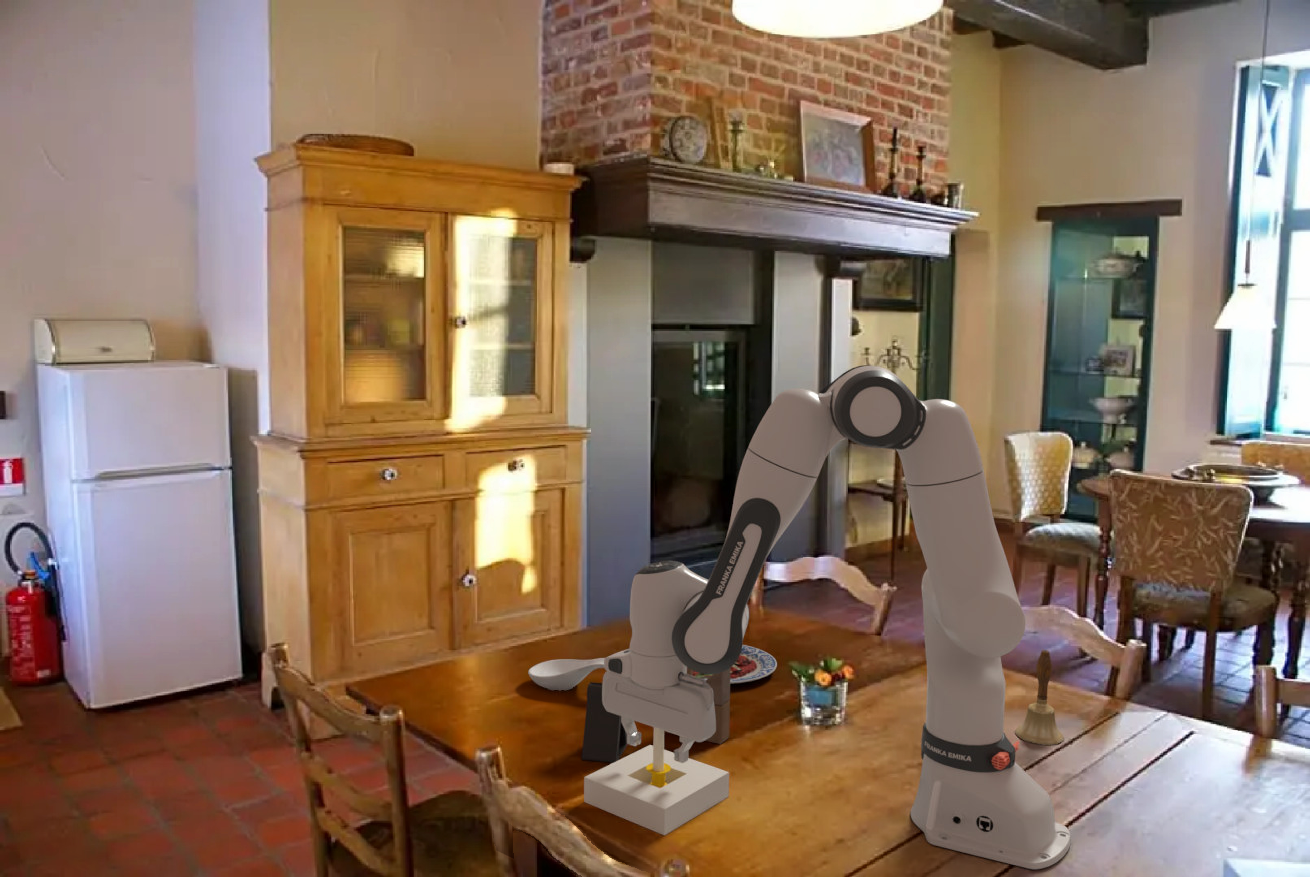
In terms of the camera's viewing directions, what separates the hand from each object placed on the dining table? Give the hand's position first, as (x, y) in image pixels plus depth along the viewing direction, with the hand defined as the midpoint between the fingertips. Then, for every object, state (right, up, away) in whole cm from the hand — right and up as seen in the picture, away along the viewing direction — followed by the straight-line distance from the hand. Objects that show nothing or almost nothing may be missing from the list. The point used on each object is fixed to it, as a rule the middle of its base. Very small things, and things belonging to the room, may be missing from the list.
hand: (657, 752), depth 160 cm
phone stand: (-9, -6, +18) cm, 21 cm away
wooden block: (+8, -5, +26) cm, 27 cm away
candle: (0, -8, 0) cm, 8 cm away
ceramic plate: (+13, -1, +60) cm, 61 cm away
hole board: (0, -8, +1) cm, 8 cm away
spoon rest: (-15, -2, +48) cm, 50 cm away
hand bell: (+69, -5, +27) cm, 74 cm away
